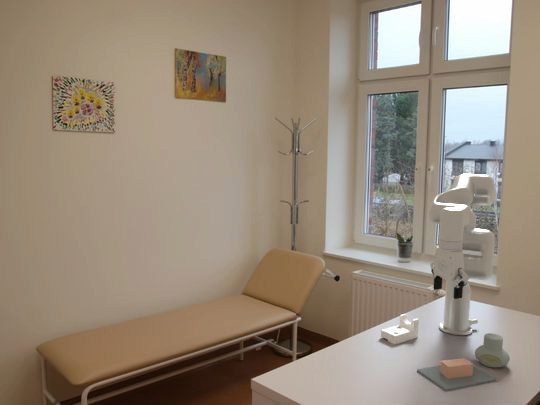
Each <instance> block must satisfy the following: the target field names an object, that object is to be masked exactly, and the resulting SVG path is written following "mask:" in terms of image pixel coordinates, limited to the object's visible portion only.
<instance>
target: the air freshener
mask: <svg viewBox="0 0 540 405" xmlns="http://www.w3.org/2000/svg"><path fill="white" fill-rule="evenodd" d="M503 342H504V337H503V336H501V335H499V334H497V333H485V334H484V336H483V344H482V345H481V344H480V345H479V346H478V347H477V348H476V349H475V351H474V356H475V358H476V359H477V361H478V362H479V363H480V364H482V365H484V366H486V367H488V368H492V369H493V368H494V369H495V368H497V369H498V368H503V367H505V366H506V365H508V364H509V363H510V359H511V358H510V354H509V353H508V351H506V350H505V348H503V345H504V343H503Z"/></svg>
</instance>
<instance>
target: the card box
mask: <svg viewBox="0 0 540 405" xmlns="http://www.w3.org/2000/svg"><path fill="white" fill-rule="evenodd" d="M439 365H440V373H441V374H443V375H444V376H445V377H446V378H448V379H450V378H458V377H467V376H472V374H473V366H474V364H473V362H471V361H469V360H468V359H466V358H464V357H462V358H454V359H445V360H444V359H443V360H440V364H439Z"/></svg>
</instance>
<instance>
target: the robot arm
mask: <svg viewBox="0 0 540 405" xmlns="http://www.w3.org/2000/svg"><path fill="white" fill-rule="evenodd" d="M496 192H497V191H496V186H495V182H494V180H493V178H492V177H491V176H490V175H488V174H474V173H463V174H459V175H458V176H456V177H455V178H454V179H453V181H452V185H451V186H450V187H449V189H448V190H446V191H444V192H441V193H439V194H437V195H436V196H435V197H434V198H433V200H432V202H431V204H430V207H429V211H428V217H429V220H430V222H431V223H432V224H434V225H439V231H438V233H439V234H438V240H437V241H438V245H437V246H436V249H435V253H434V258H433V262H431V263H430V264H429V265H430V269H431V273H432V278H433V290H434V291H437V290H442V288H443V279H445V294H444V295H445V297H444V309H443V310H444V311H443V312H444V313H443V322H440V323H439V326H438V328H439V329H440V330H441V331H442V332H444V333H446V334H450V335H454V336H468V335H470V334H472V333H473V327H471V326H472V325H476V324H478V322H479V321H478V319H477V318H475V319H473V318H472V319H471V318H470V310H471V309H470V308H471V294H472V289H471V286H470V284H469V282H468V281H469V280H470V279H471V280H477V281H488V280H490V279H491V278H492V273H493V267H494V266H493V265H494V254H495V235H494V233H493V232H492V231H491V230H489V229H485V228H484V229H482V228H476V227H477V226H476V225H477V215H476V214H475V212H474V211H473V210H472V208H471V207H470V206H482V207H489V206H492V205H493V204H494V203H495V200H496V195H497V194H496ZM464 252H469V253H476V254H469V253H464ZM477 253H478V254H480V255H478V254H477Z"/></svg>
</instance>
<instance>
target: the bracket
mask: <svg viewBox="0 0 540 405" xmlns="http://www.w3.org/2000/svg"><path fill="white" fill-rule="evenodd" d="M419 322H420V320H419V318H413V319H411V321H409V319H408V317H407V314H406V313H403V314H399V324H398V325H395V326H390V327H386V328H383V329H381V330H380V337H382V338H384V339H385V340H387V342H389V343H391V344H393V345H399V344H401V343H404V342H408V341H410V340H414V339H417V338H418V337H419V324H420V323H419Z"/></svg>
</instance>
